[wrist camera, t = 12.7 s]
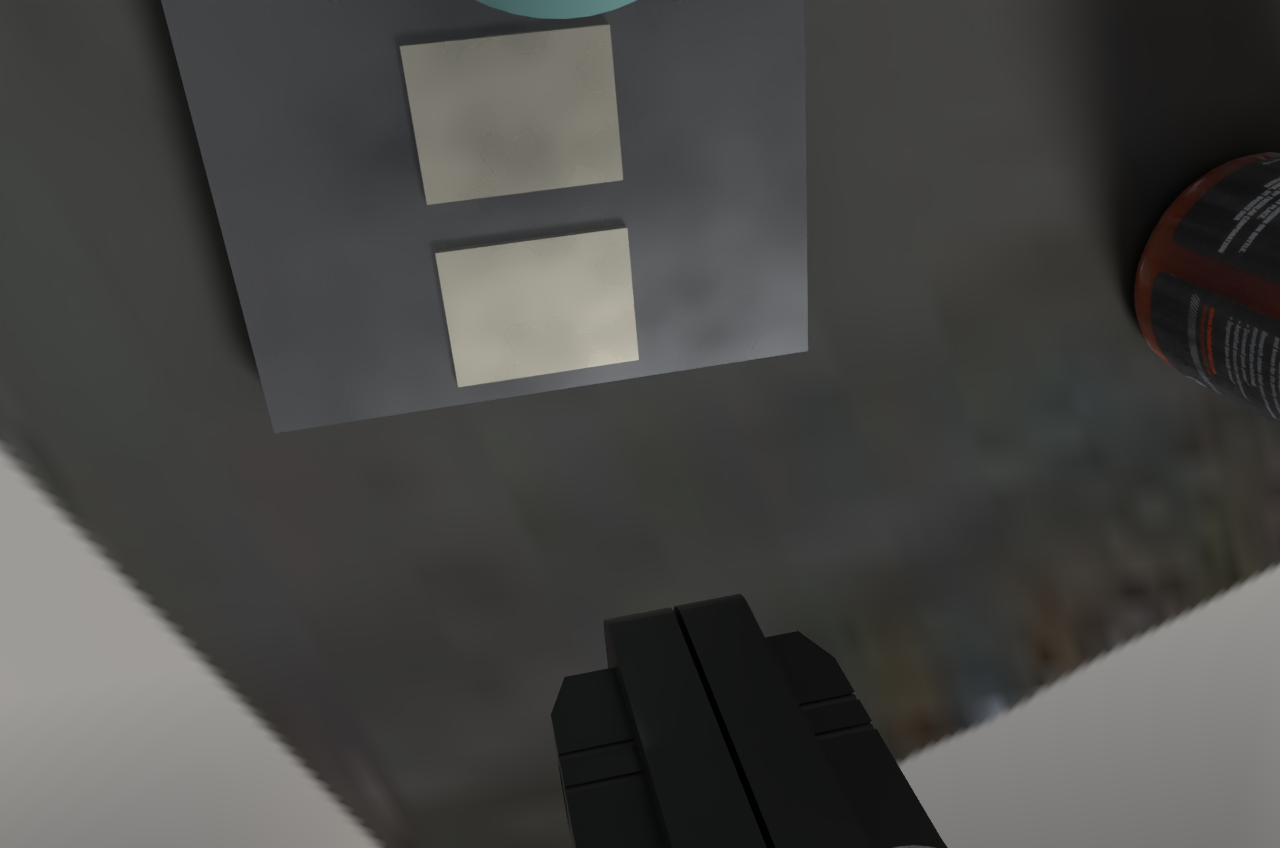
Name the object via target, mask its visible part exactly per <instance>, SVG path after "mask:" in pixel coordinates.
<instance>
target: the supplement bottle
mask: <svg viewBox="0 0 1280 848" xmlns="http://www.w3.org/2000/svg"><path fill="white" fill-rule="evenodd" d="M1134 301H1135V311H1136V315H1137V320H1138V324H1139V327H1140V330H1141V333H1142V335H1143V337H1144V338H1145V340H1146V342H1147V343H1148V345H1149V346H1150V348H1151V349H1152V350H1153V351H1154V353H1156V354H1157V355H1158V356H1159V357H1160V358H1161V359H1162V360H1163V361H1165V362H1166V363H1168V364H1169V365H1171V366H1172V367H1174V368H1176V369H1177V370H1178V371H1179V372H1181V373H1182V374H1183V375H1185V376H1187V377H1189V378H1191V379H1193V380H1194V381H1196V382H1198V383H1200V384H1202V385H1203V386H1205V387H1207V388H1209V389H1211V390H1212V391H1214V392H1216V393H1218V394H1220V395H1222V396H1224V397H1226V398H1227V399H1229V400H1231V401H1233V402H1235V403H1237V404H1238V405H1240V406H1243V407H1244V408H1246V409H1248V410H1250V411H1252V412H1254V413H1255V414H1257V415H1259V416H1261V417H1263V418H1265V419H1266V420H1268V421H1269V422H1271V423H1273V424H1275V425H1277V426H1279V427H1280V153H1274V152H1264V153H1258V154H1254V155H1249V156H1244V157H1240V158H1237V159H1233V160H1230V161H1228V162H1226V163H1225V164H1222V165H1220V166H1218V167H1216V168H1214V169H1212V170H1211V171H1209V172H1208V173H1206V174H1204V175H1203V176H1202V177H1200V178H1199V179H1198V180H1197V181H1195V182H1194V183H1192V184H1191V185H1190V186H1188V187H1187V188H1186V189H1185V190H1183V191H1182V192H1181V194H1180V195H1179V196H1178V197H1177V198H1176V199H1175V200H1174V201H1173V202H1172V203H1171V205H1170V206H1169V207H1168V208H1167V210H1166V211H1165V212H1164V213H1163V215H1162V216H1161V218H1160V219H1159V221H1158V223H1157V225H1156V226H1155V228H1154V229H1153V231H1152V234H1151V236H1150V237H1149V239H1148V241H1147V243H1146V245H1145V248H1144V250H1143V254H1142V255H1141V259H1140V261H1139V264H1138V268H1137V273H1136V279H1135V292H1134Z"/></svg>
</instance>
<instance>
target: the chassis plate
mask: <svg viewBox="0 0 1280 848" xmlns="http://www.w3.org/2000/svg"><path fill="white" fill-rule="evenodd" d="M161 2H162V6H163V10H164V14H165V17H166V21H167V25H168V29H169V33H170V37H171V40H172V44H173V48H174V52H175V56H176V59H177V63H178V67H179V71H180V75H181V79H182V82H183V86H184V90H185V94H186V98H187V101H188V105H189V109H190V113H191V117H192V121H193V124H194V128H195V132H196V136H197V140H198V143H199V147H200V151H201V155H202V159H203V163H204V166H205V170H206V174H207V178H208V182H209V185H210V189H211V193H212V197H213V201H214V205H215V208H216V212H217V216H218V220H219V224H220V227H221V231H222V235H223V239H224V243H225V247H226V250H227V254H228V258H229V262H230V266H231V269H232V273H233V277H234V281H235V285H236V289H237V292H238V296H239V300H240V304H241V308H242V311H243V315H244V319H245V323H246V327H247V331H248V334H249V338H250V342H251V346H252V350H253V353H254V357H255V361H256V365H257V369H258V373H259V376H260V380H261V384H262V388H263V392H264V395H265V399H266V403H267V407H268V411H269V415H270V418H271V422H272V426H273V430H274V434H275V433H281V432H287V431H294V430H300V429H307V428H313V427H320V426H326V425H333V424H339V423H346V422H352V421H358V420H365V419H371V418H378V417H384V416H391V415H397V414H404V413H410V412H417V411H423V410H429V409H436V408H442V407H449V406H455V405H462V404H468V403H475V402H481V401H488V400H494V399H500V398H507V397H513V396H520V395H526V394H533V393H539V392H546V391H552V390H559V389H565V388H571V387H578V386H584V385H591V384H597V383H604V382H610V381H617V380H623V379H630V378H636V377H642V376H649V375H655V374H662V373H668V372H675V371H681V370H688V369H694V368H701V367H707V366H713V365H720V364H726V363H733V362H739V361H746V360H752V359H759V358H765V357H772V356H778V355H784V354H791V353H797V352H804V351H808V305H807V194H806V83H805V0H637V1H634V2H632V3H629V4H627V5H625V6H622V7H620V8H618V9H615V10H611V11H608V12H604V13H600V14H596V15H593V16H587V17H578V18H570V19H545V18H534V17H528V16H522V15H516V14H512V13H509V12H506V11H502V10H499V9H496V8H493V7H489V6H487V5H485V4H483V3H481V2H478V1H476V0H161Z"/></svg>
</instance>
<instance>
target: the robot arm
mask: <svg viewBox="0 0 1280 848" xmlns="http://www.w3.org/2000/svg"><path fill="white" fill-rule="evenodd" d="M604 635H605V644H606V652H607V661H608V669H604V670H599V671H594V672H588V673H583V674H578V675H573V676H568V677H565V678H564V681H563V683H562V686H561V689H560V692H559V694H558V697H557V700H556V702H555V705H554V708H553V711H552V713H551V718H552V725H553V731H554V738H555V744H556V751H557V758H558V764H559V771H560V777H561V784H562V791H563V797H564V804H565V811H566V817H567V824H568V829H569V835H570V840H571V846H572V848H947V846H946V845H945V843H944V842H943V841H942V839H941V838H940V836H939V834H938V832H937V831H936V829H935V827H934V825H933V824H932V822H931V820H930V819H929V817H928V816H927V814H926V812H925V810H924V809H923V807H922V805H921V804H920V802H919V800H918V799H917V797H916V795H915V793H914V792H913V790H912V788H911V787H910V785H909V783H908V781H907V780H906V778H905V776H904V775H903V773H902V771H901V770H900V768H899V766H898V764H897V763H896V761H895V759H894V758H893V756H892V754H891V753H890V751H889V749H888V747H887V746H886V744H885V742H884V741H883V739H882V737H881V736H880V734H879V732H878V731H877V729H875V730H874V728H873V724H872V720H871V719H870V717H869V715H868V714H867V712H866V710H865V708H864V707H863V705H862V703H861V702H860V700H857V699H856V696H855V692H854V690H853V688H852V686H851V685H850V683H849V681H848V680H847V678H846V676H845V675H844V673H843V671H842V669H841V668H840V666H839V664H838V663H837V661H836V659H835V658H834V657H833V656H832V655H830V654H829V653H827V652H826V651H825V650H823V649H822V648H821V647H819V646H818V645H816V644H815V643H814V642H812V641H811V640H810V639H808V638H807V637H805V636H804V635H803V634H801V633H800V632H799V631H797V632H792V633H787V634H781V635H776V636H771V637H766V638H765V637H764V635H763V633H762V631H761V629H760V627H759V625H758V623H757V621H756V619H755V617H754V615H753V613H752V611H751V609H750V607H749V605H748V603H747V602H746V600H745V598H744V597H743V596H742V595H741V594H737V595H732V596H726V597H721V598H716V599H710V600H705V601H700V602H694V603H689V604H684V605H678V606H675V607H674V610H672V609H671V608H664V609H659V610H653V611H648V612H643V613H637V614H632V615H627V616H622V617H616V618H611V619H606V620H604Z"/></svg>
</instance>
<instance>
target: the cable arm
mask: <svg viewBox="0 0 1280 848" xmlns="http://www.w3.org/2000/svg"><path fill="white" fill-rule="evenodd" d="M476 1H478V2H481V3H483V4H485V5H487V6H489V7H493V8H496V9H499V10H502V11H506V12H509V13H512V14H516V15H522V16H528V17H534V18H545V19H570V18H578V17H587V16H593V15H596V14H600V13H604V12H608V11H611V10H615V9H618V8H620V7H622V6H625V5H627V4H629V3H632V2H634V1H637V0H476Z"/></svg>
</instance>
